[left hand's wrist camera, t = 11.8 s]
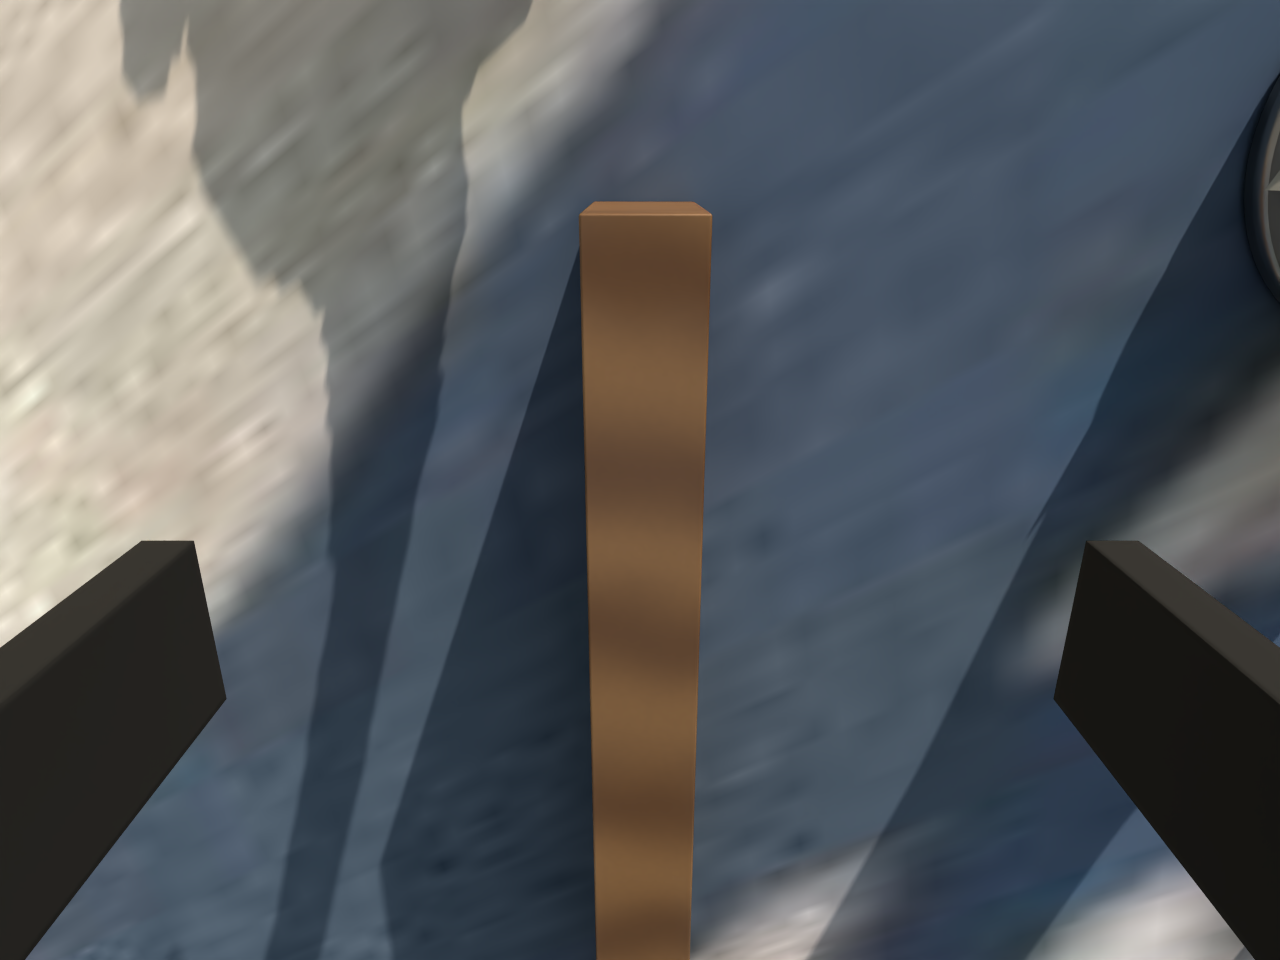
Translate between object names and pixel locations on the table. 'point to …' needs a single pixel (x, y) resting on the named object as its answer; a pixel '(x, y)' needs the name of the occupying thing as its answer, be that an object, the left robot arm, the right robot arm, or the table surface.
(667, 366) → the bar
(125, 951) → the table surface
